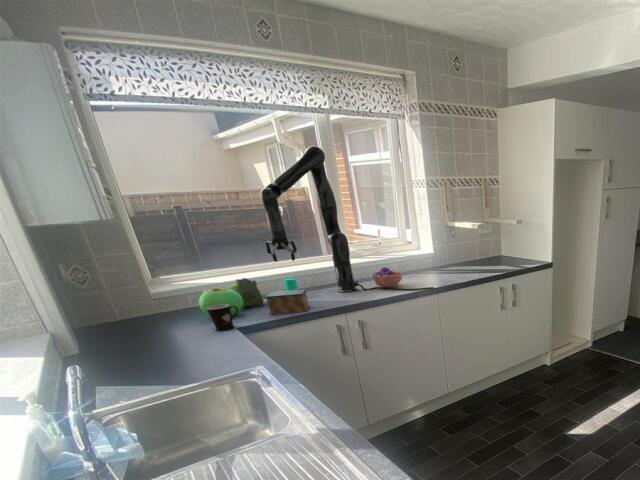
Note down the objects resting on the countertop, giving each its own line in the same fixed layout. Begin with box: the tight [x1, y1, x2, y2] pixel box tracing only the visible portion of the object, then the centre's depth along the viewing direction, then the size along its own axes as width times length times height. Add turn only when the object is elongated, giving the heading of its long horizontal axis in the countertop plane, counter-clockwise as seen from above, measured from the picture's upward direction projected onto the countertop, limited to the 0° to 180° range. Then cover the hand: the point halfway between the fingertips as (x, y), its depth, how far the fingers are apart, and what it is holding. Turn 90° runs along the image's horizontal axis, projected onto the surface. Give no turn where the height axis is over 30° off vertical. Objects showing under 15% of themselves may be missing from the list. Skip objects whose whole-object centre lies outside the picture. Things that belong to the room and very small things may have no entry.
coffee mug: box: [206, 304, 238, 332], centre depth 187 cm, size 12×9×10 cm
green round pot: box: [198, 283, 244, 317], centre depth 203 cm, size 18×17×15 cm
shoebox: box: [265, 288, 310, 315], centre depth 212 cm, size 17×11×9 cm, turn 104°
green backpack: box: [234, 277, 264, 310], centre depth 218 cm, size 11×19×15 cm, turn 115°
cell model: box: [371, 267, 403, 288], centre depth 254 cm, size 17×20×11 cm
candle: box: [283, 277, 299, 291], centre depth 235 cm, size 6×6×12 cm
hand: (284, 261), depth 229 cm, fingers open, 8 cm apart
